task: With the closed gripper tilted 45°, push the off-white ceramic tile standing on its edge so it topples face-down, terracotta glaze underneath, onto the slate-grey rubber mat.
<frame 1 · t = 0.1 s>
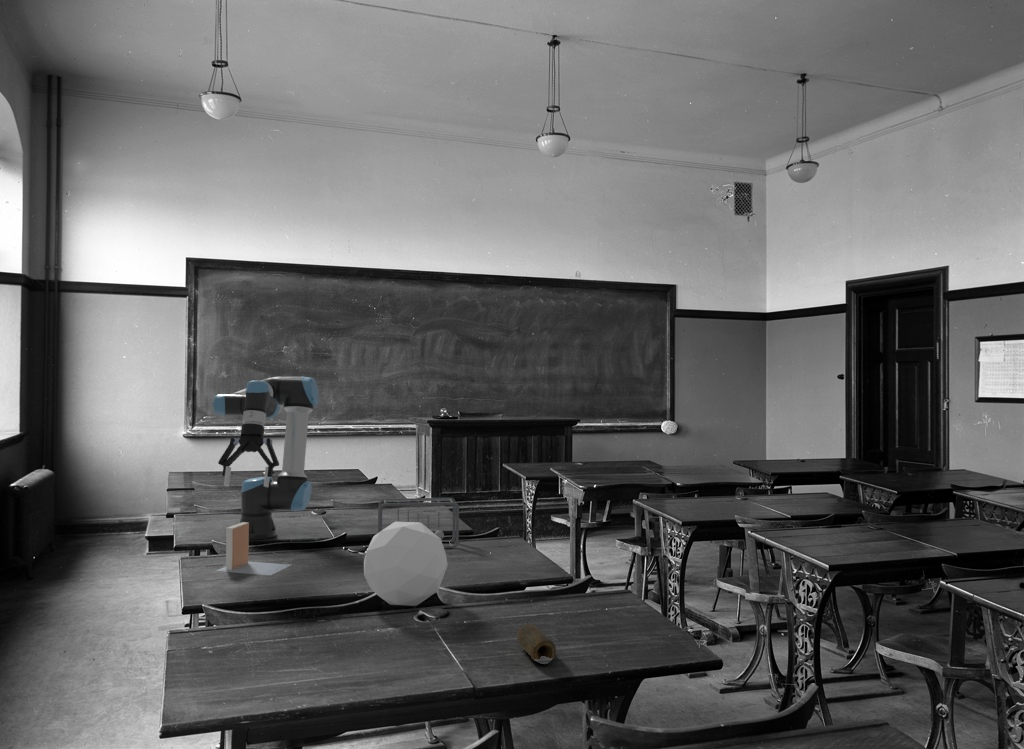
hand: (246, 486, 269), 28 cm above the table, tool tilted 20°, fingers open, 13 cm apart
newton's cradle: (417, 547, 305), on the table
tile: (237, 566, 270), resting on mat
mat: (254, 568, 268), on the table
brown hollow tube: (535, 657, 193), on the table
hand bell: (394, 568, 273), on the table
geometric polyhedron: (404, 603, 234), on the table
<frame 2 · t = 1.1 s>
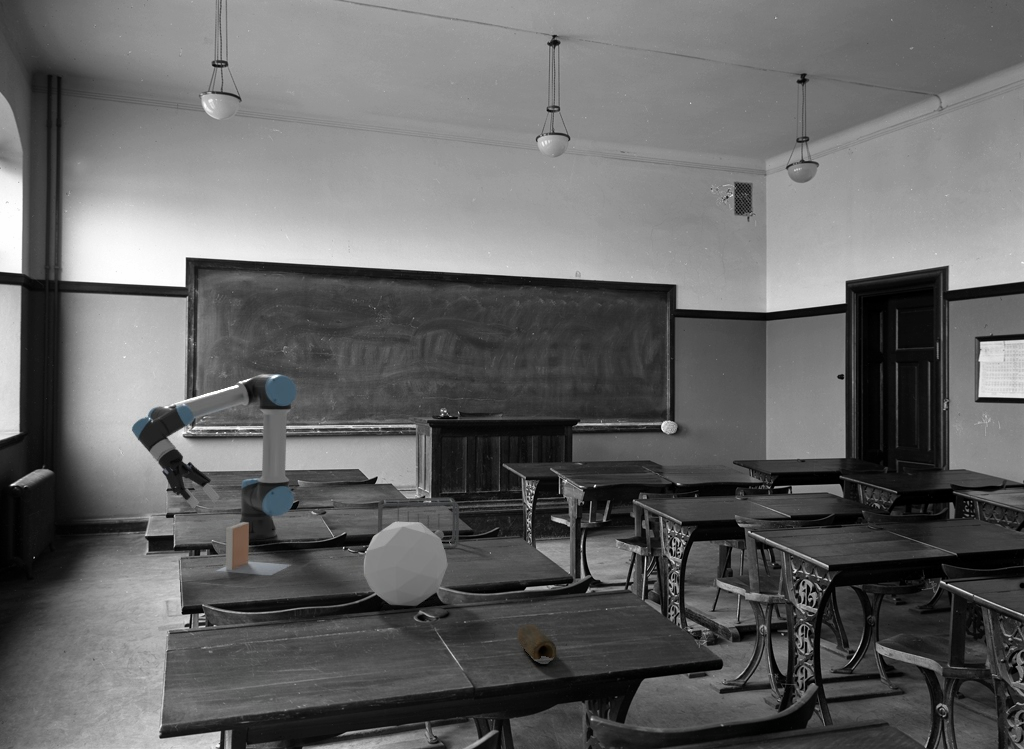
hand: (206, 502, 272), 21 cm above the table, tool tilted 45°, fingers open, 11 cm apart
nothing on the table moved.
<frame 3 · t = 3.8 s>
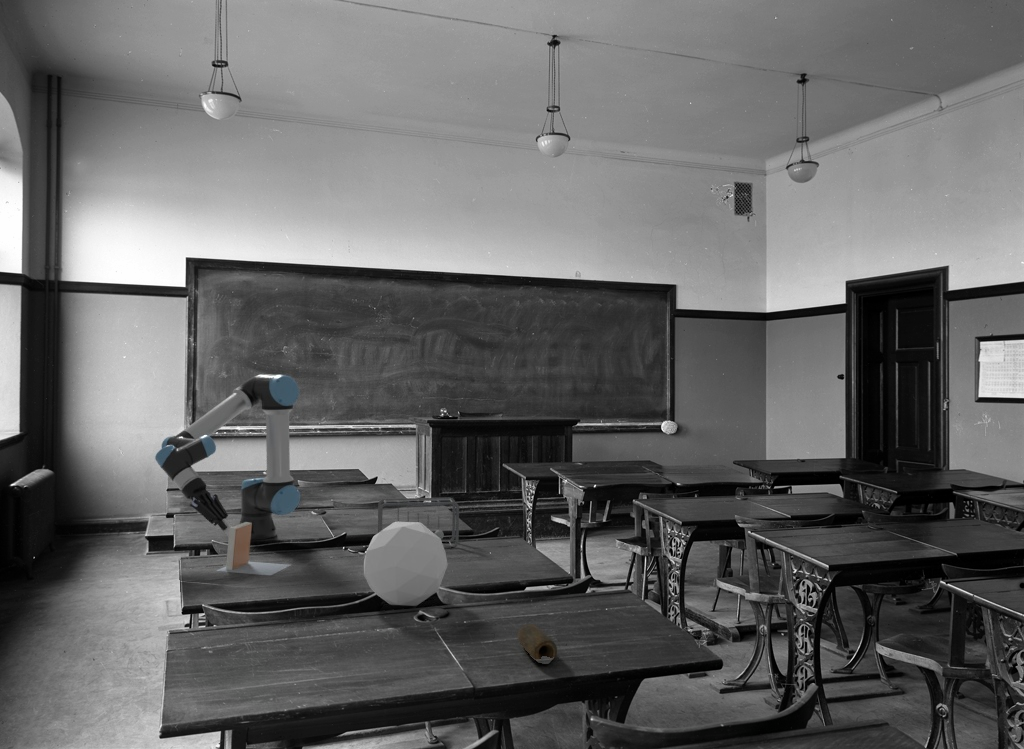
hand: (233, 535, 270), 11 cm above the table, tool tilted 45°, fingers closed
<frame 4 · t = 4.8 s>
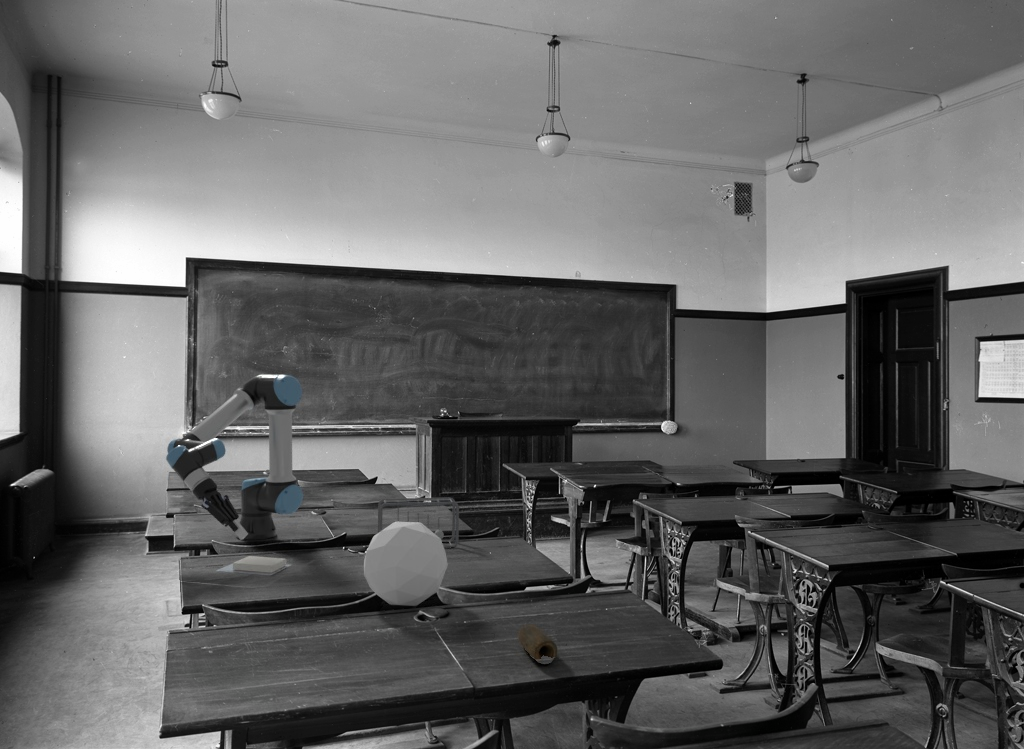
hand: (244, 536, 268), 11 cm above the table, tool tilted 45°, fingers closed
tile: (241, 563, 269), point 2 cm above the table, tilted 90°, touching mat
everything else where it was.
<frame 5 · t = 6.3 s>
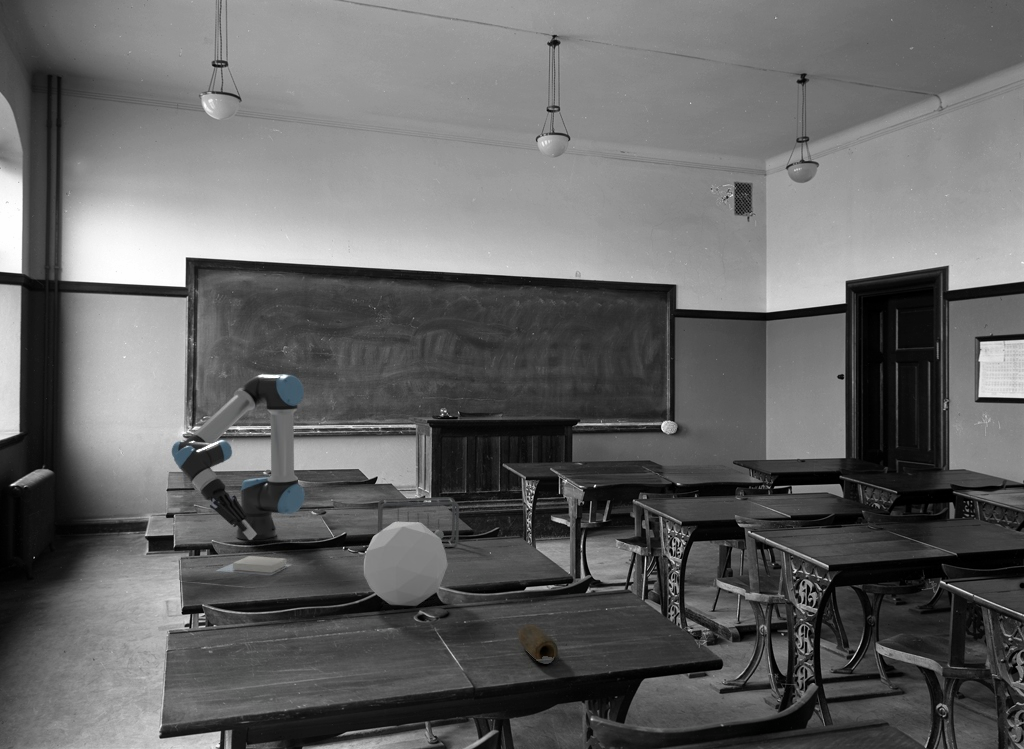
hand: (253, 537, 268), 11 cm above the table, tool tilted 45°, fingers closed
nothing on the table moved.
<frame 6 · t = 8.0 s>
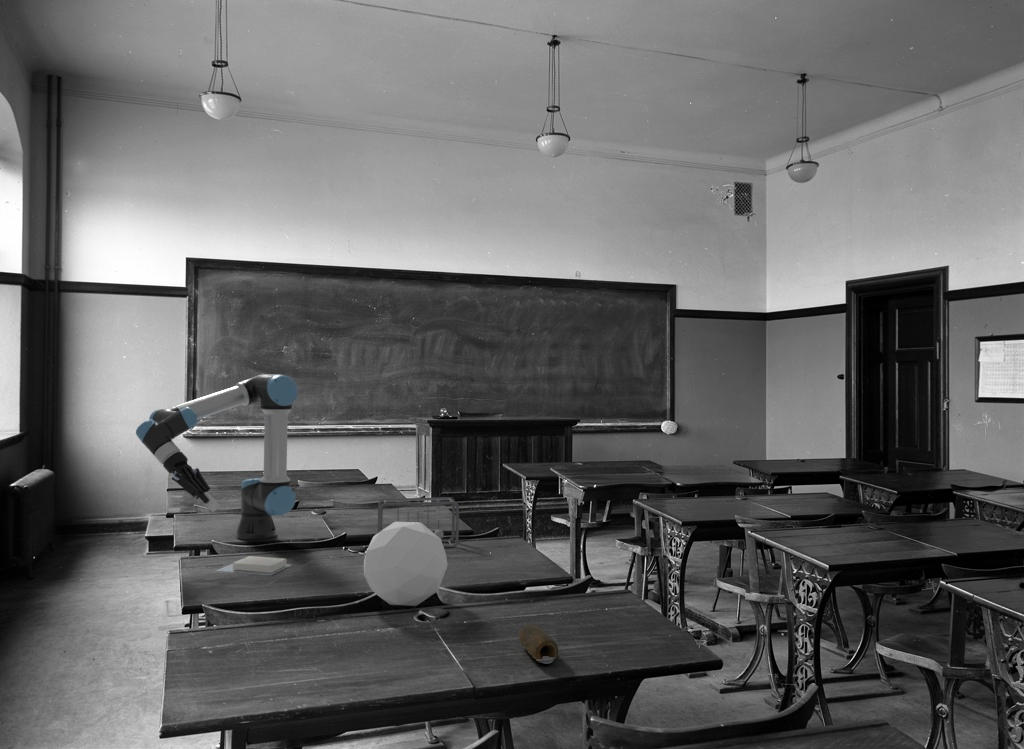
hand: (215, 508, 271), 20 cm above the table, tool tilted 45°, fingers closed
nothing on the table moved.
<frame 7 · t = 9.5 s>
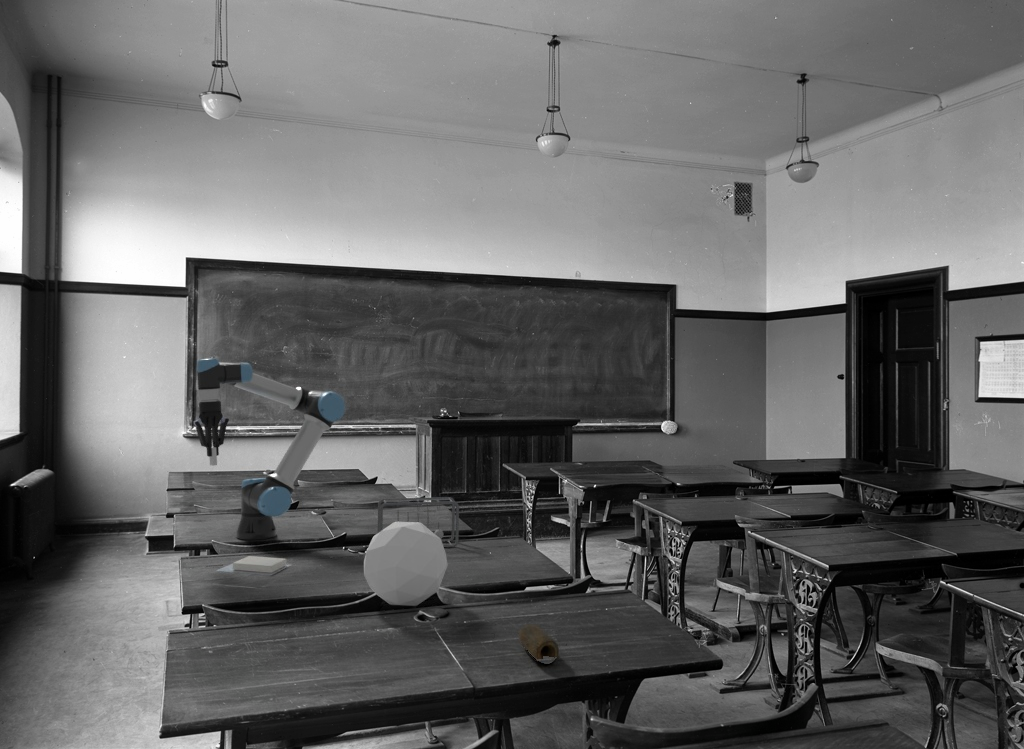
hand: (213, 465, 292), 31 cm above the table, tool pointing down, fingers closed
nothing on the table moved.
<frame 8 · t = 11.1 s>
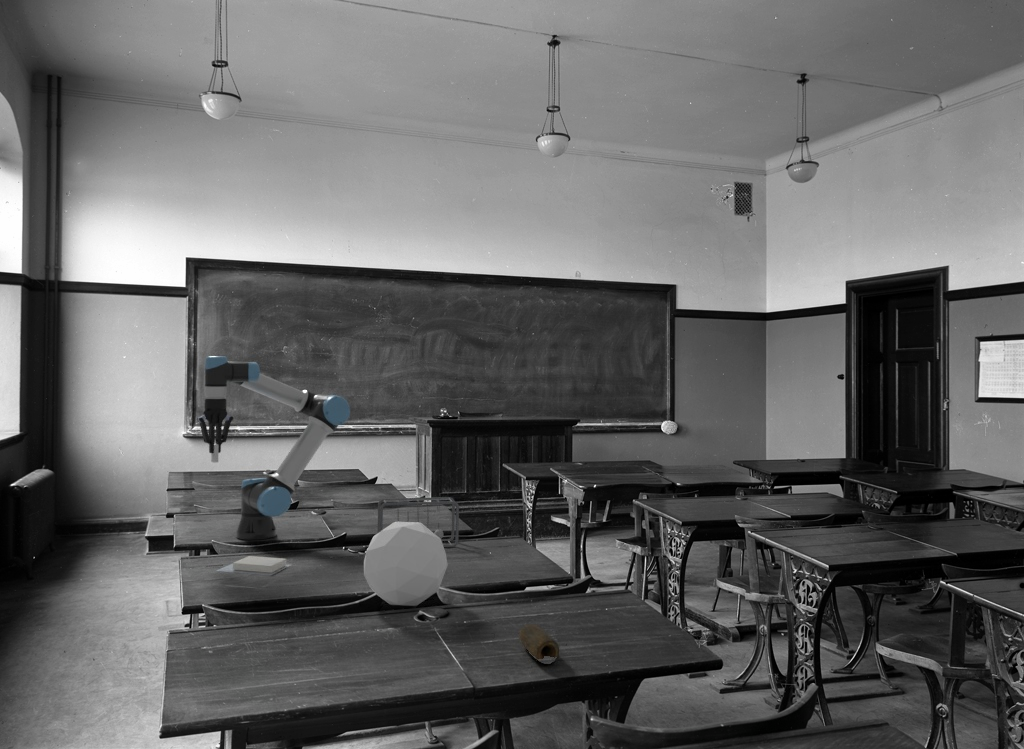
hand: (214, 461, 294), 32 cm above the table, tool pointing down, fingers closed
at the end: tile tilted 90°; tile inside the target area on the mat (0.5 cm from its centre), point 1.6 cm above the mat's base; tile touching mat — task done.
